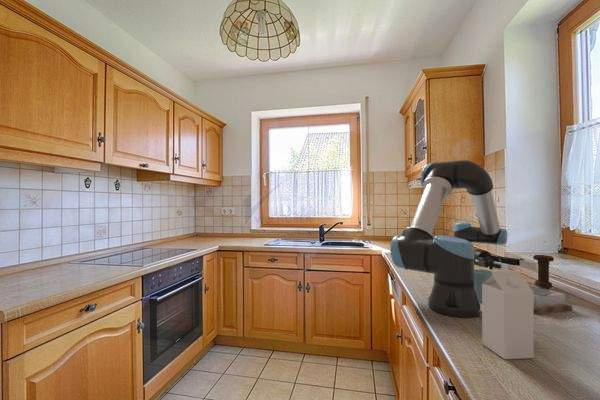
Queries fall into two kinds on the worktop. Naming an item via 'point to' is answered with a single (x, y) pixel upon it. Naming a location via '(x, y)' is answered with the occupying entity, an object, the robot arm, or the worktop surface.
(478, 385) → the worktop surface
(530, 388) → the worktop surface
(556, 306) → the hinge base
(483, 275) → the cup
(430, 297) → the robot arm
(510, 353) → the milk carton
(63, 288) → the worktop surface
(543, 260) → the bolt
